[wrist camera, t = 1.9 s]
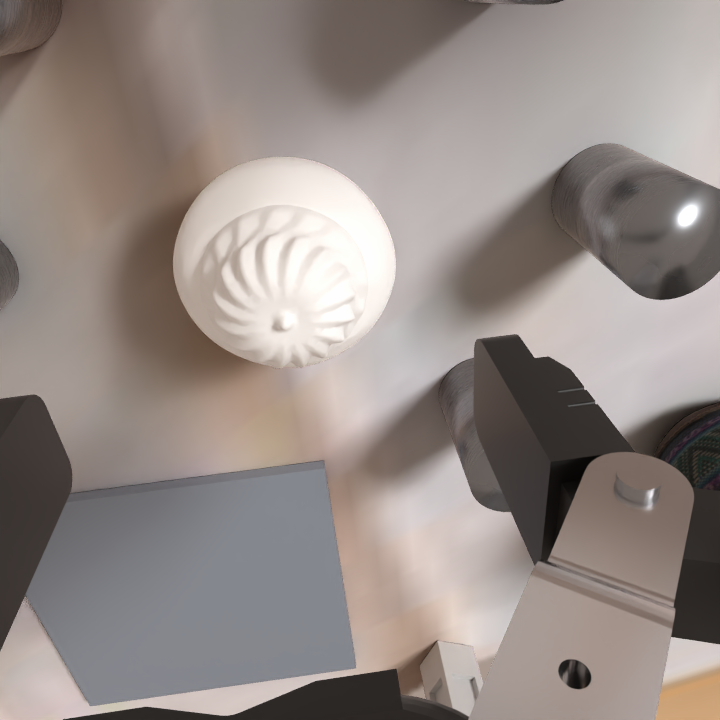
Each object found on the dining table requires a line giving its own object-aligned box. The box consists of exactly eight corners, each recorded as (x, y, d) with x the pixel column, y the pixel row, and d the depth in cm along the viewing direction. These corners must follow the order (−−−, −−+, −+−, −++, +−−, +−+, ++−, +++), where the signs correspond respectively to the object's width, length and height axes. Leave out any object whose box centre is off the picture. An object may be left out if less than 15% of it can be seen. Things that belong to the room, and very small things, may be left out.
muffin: (208, 319, 21) (175, 443, 15) (174, 137, 18) (116, 205, 12) (381, 305, 22) (415, 422, 16) (378, 126, 19) (419, 186, 13)
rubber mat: (323, 460, 25) (324, 468, 25) (355, 659, 32) (356, 668, 32) (-17, 505, 25) (-22, 514, 24) (92, 696, 32) (90, 706, 32)
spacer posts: (730, -363, 14) (925, -523, 10) (610, 405, 25) (675, 489, 21) (-361, -268, 13) (-680, -396, 9) (22, 482, 24) (-36, 586, 20)
